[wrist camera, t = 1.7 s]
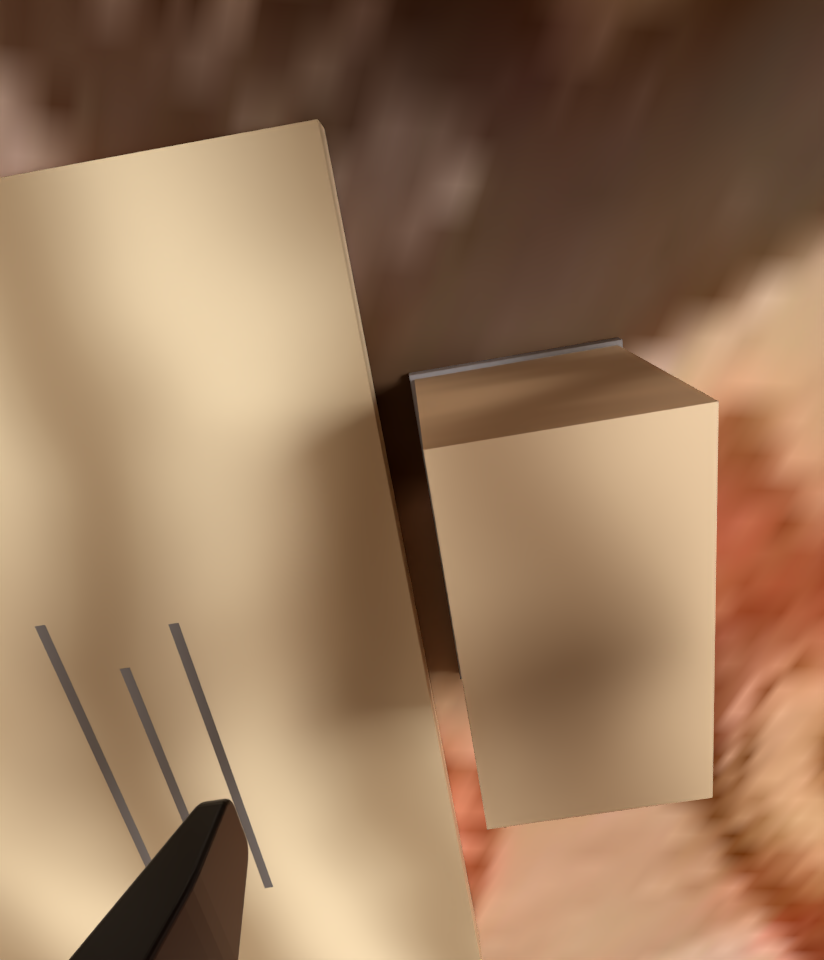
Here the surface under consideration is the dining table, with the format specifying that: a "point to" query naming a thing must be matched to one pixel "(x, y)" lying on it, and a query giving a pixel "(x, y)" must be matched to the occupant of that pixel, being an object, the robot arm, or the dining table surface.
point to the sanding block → (577, 575)
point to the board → (208, 562)
